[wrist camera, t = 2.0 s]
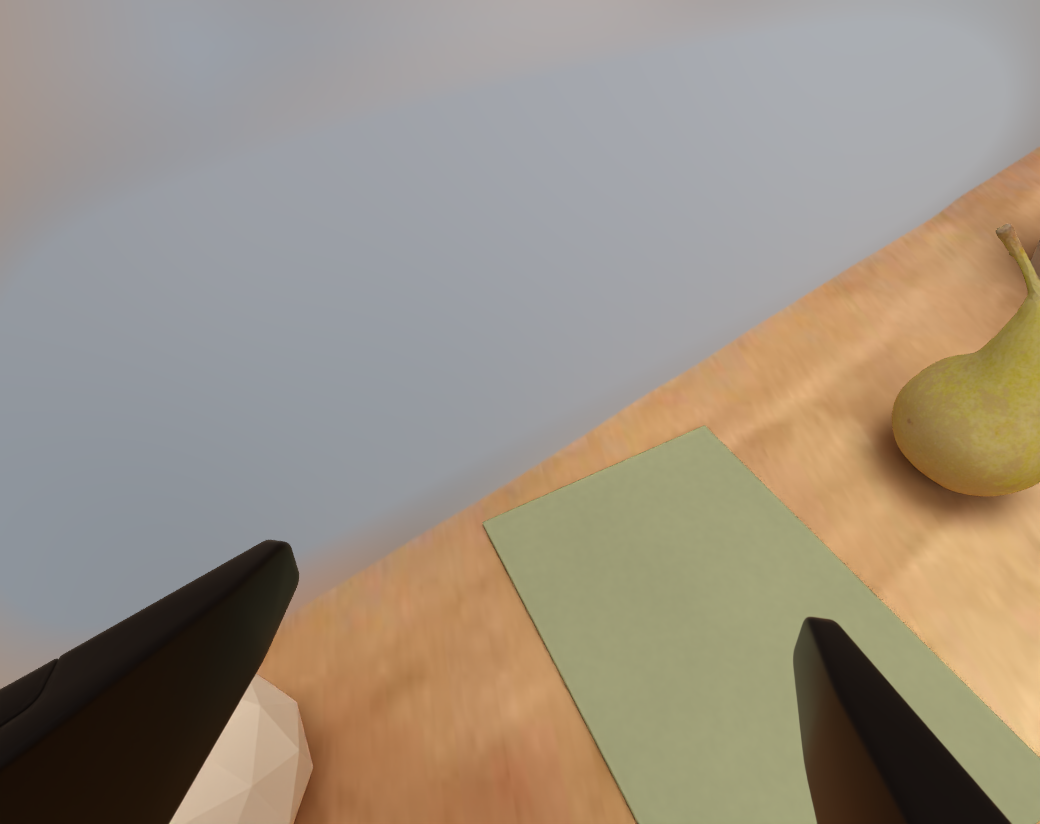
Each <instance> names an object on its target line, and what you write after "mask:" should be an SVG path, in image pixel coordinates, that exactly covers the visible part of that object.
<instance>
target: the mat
mask: <svg viewBox="0 0 1040 824" xmlns="http://www.w3.org/2000/svg"><path fill="white" fill-rule="evenodd" d="M483 526H484V528H485V530H486V532H487V534H488V536H489V538H490V540H491V542H492V544H493V546H494V548H495V549H496V551H497V553H498V555H499V557H500V559H501V561H502V563H503V565H504V567H505V569H506V571H507V573H508V575H509V576H510V578H511V580H512V582H513V584H514V586H515V588H516V590H517V592H518V594H519V596H520V598H521V600H522V602H523V604H524V605H525V607H526V609H527V611H528V613H529V615H530V617H531V619H532V621H533V623H534V625H535V627H536V629H537V631H538V632H539V634H540V636H541V638H542V640H543V642H544V644H545V646H546V648H547V650H548V652H549V654H550V656H551V658H552V659H553V661H554V663H555V665H556V667H557V669H558V671H559V673H560V675H561V677H562V679H563V681H564V683H565V685H566V687H567V688H568V690H569V692H570V694H571V696H572V698H573V700H574V702H575V704H576V706H577V708H578V710H579V712H580V714H581V715H582V717H583V719H584V721H585V723H586V725H587V727H588V729H589V731H590V733H591V735H592V737H593V739H594V741H595V742H596V744H597V746H598V748H599V750H600V752H601V754H602V756H603V758H604V760H605V762H606V764H607V766H608V768H609V770H610V771H611V773H612V775H613V777H614V779H615V781H616V783H617V785H618V787H619V789H620V791H621V793H622V795H623V797H624V798H625V800H626V802H627V804H628V806H629V808H630V810H631V812H632V814H633V816H634V818H635V820H636V822H637V824H817V821H816V817H815V812H814V808H813V803H812V799H811V794H810V790H809V785H808V781H807V775H806V770H805V765H804V758H803V750H802V742H801V733H800V723H799V714H798V705H797V696H796V687H795V678H794V668H793V653H794V648H795V645H796V642H797V639H798V636H799V633H800V630H801V627H802V624H803V621H804V620H805V618H807V617H810V616H811V617H818V618H825V619H831V620H834V621H835V622H837V623H838V624H839V625H840V626H841V627H842V629H843V630H844V631H845V632H846V633H847V634H848V635H849V637H850V638H851V639H852V640H853V641H854V642H855V643H856V645H857V646H858V647H859V648H860V649H861V650H862V652H863V653H864V654H865V655H866V656H867V657H868V658H869V660H870V661H871V662H872V663H873V664H874V665H875V667H876V668H877V669H878V670H879V671H880V672H881V673H882V675H883V676H884V677H885V678H886V679H887V680H888V681H889V683H890V684H891V685H892V686H893V687H894V688H895V690H896V691H897V692H898V693H899V694H900V695H901V696H902V698H903V699H904V700H905V701H906V702H907V703H908V705H909V706H910V707H911V708H912V709H913V710H914V711H915V713H916V714H917V715H918V716H919V717H920V718H921V719H922V721H923V722H924V723H925V724H926V725H927V726H928V728H929V729H930V730H931V731H932V732H933V733H934V734H935V736H936V737H937V738H938V739H939V740H940V741H941V743H942V744H943V745H944V746H945V747H946V748H947V749H948V751H949V752H950V753H951V754H952V755H953V756H954V757H955V759H956V760H957V761H958V762H959V763H960V764H961V766H962V767H963V768H964V769H965V770H966V771H967V772H968V774H969V775H970V776H971V777H972V778H973V779H974V781H975V782H976V783H977V784H978V785H979V786H980V787H981V789H982V790H983V791H984V792H985V793H986V794H987V795H988V797H989V798H990V799H991V800H992V801H993V802H994V804H995V805H996V806H997V807H998V808H999V809H1000V810H1001V812H1002V813H1003V814H1004V815H1005V816H1006V817H1007V819H1008V820H1009V821H1010V822H1011V823H1012V824H1036V823H1038V822H1039V821H1040V758H1039V757H1038V756H1037V755H1036V754H1035V753H1034V752H1033V751H1032V750H1031V749H1030V748H1029V747H1028V746H1027V745H1026V744H1025V743H1024V742H1023V741H1022V740H1021V739H1020V738H1019V737H1018V736H1017V735H1016V734H1015V733H1014V732H1013V731H1012V730H1011V729H1010V728H1009V727H1008V726H1007V725H1006V724H1005V723H1004V722H1003V721H1002V720H1001V719H1000V718H999V717H998V716H997V715H996V714H995V713H994V712H993V711H992V710H991V709H990V708H989V707H988V706H987V705H986V704H985V703H984V702H983V701H982V700H981V699H980V698H979V697H978V696H977V695H976V694H975V693H974V692H973V691H972V690H971V689H970V688H969V687H968V686H967V685H966V684H965V683H964V682H963V681H962V680H961V679H960V678H959V677H958V676H957V675H956V674H955V673H953V672H952V671H951V670H950V669H949V668H948V667H947V666H946V665H945V664H944V663H943V662H942V661H941V660H940V659H939V658H938V657H937V656H936V655H935V654H934V653H933V652H932V651H931V650H930V649H929V648H928V647H927V646H926V645H925V644H924V643H923V642H922V641H921V640H920V639H919V638H918V637H917V636H916V635H915V634H914V633H913V632H912V631H911V630H910V629H909V628H908V627H907V626H906V625H905V624H904V623H903V622H902V621H901V620H900V619H899V618H898V617H897V616H896V615H895V614H894V613H893V612H892V611H891V610H890V609H889V608H888V607H887V606H886V605H885V604H884V603H883V602H882V601H881V600H880V599H879V598H878V597H877V596H876V595H875V594H874V593H873V592H872V591H871V590H870V589H869V588H868V587H867V586H866V585H865V584H864V583H863V582H862V581H861V580H860V579H859V578H858V577H857V576H856V575H855V574H854V573H853V572H852V571H851V570H850V569H849V568H848V567H847V566H846V565H845V564H844V563H843V562H842V561H841V560H840V559H839V558H838V557H837V556H836V555H835V554H834V553H833V552H832V551H831V550H830V549H829V548H828V547H827V546H826V545H825V544H824V543H823V542H822V541H821V540H820V539H819V538H818V537H817V536H816V535H815V534H814V533H813V532H812V531H811V530H810V529H809V528H808V527H807V526H806V525H805V524H804V523H803V522H802V521H801V520H799V519H798V518H797V517H796V516H795V515H794V514H793V513H792V512H791V511H790V510H789V509H788V508H787V507H786V506H785V505H784V504H783V503H782V502H781V501H780V500H779V499H778V498H777V497H776V496H775V495H774V494H773V493H772V492H771V491H770V490H769V489H768V488H767V487H766V486H765V485H764V484H763V483H762V482H761V481H760V480H759V479H758V478H757V477H756V476H755V475H754V474H753V473H752V472H751V471H750V470H749V469H748V468H747V467H746V466H745V465H744V464H743V463H742V462H741V461H740V460H739V459H738V458H737V457H736V456H735V455H734V454H733V453H732V452H731V451H730V450H729V449H728V448H727V447H726V446H725V445H724V444H723V443H722V442H721V441H720V440H719V439H718V438H717V437H716V436H715V435H714V434H713V433H712V432H711V431H710V430H709V429H708V428H707V427H706V426H705V425H704V426H702V427H700V428H697V429H695V430H693V431H691V432H688V433H686V434H684V435H681V436H679V437H677V438H675V439H672V440H670V441H668V442H665V443H663V444H661V445H659V446H656V447H654V448H652V449H649V450H647V451H645V452H642V453H640V454H638V455H636V456H633V457H631V458H629V459H626V460H624V461H622V462H620V463H617V464H615V465H613V466H610V467H608V468H606V469H604V470H601V471H599V472H597V473H594V474H592V475H590V476H587V477H585V478H583V479H581V480H578V481H576V482H574V483H571V484H569V485H567V486H565V487H562V488H560V489H558V490H555V491H553V492H551V493H549V494H546V495H544V496H542V497H539V498H537V499H535V500H533V501H530V502H528V503H526V504H523V505H521V506H519V507H516V508H514V509H512V510H510V511H507V512H505V513H503V514H500V515H498V516H496V517H494V518H491V519H489V520H487V521H484V522H483Z"/></svg>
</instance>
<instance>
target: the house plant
mask: <svg viewBox="0 0 1040 824" xmlns="http://www.w3.org/2000/svg"><path fill="white" fill-rule="evenodd" d="M1030 262H1031V264H1032V266H1033V268H1034V270H1035V272H1036V274H1037V276H1038V278H1039V280H1040V240H1039V242H1038V245H1037V247H1036V249H1035V252H1034V254H1033V257H1032V259H1031V261H1030Z"/></svg>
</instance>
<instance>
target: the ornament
mask: <svg viewBox="0 0 1040 824" xmlns="http://www.w3.org/2000/svg"><path fill="white" fill-rule="evenodd" d="M312 770H313V764H312V760H311V756H310V752H309V748H308V744H307V740H306V736H305V732H304V728H303V724H302V720H301V716H300V712H299V708H298V704H297V702H296V701H295V700H293V699H292V698H291V697H289V696H288V695H286V694H285V693H284V692H282V691H281V690H279V689H278V688H277V687H275V686H274V685H273V684H271V683H270V682H268V681H267V680H265V679H264V678H262V677H261V676H259V675H257V674H255V676H254V678H253V680H252V681H251V683H250V685H249V687H248V688H247V690H246V692H245V694H244V695H243V697H242V699H241V700H240V702H239V704H238V706H237V707H236V709H235V711H234V713H233V714H232V716H231V718H230V720H229V721H228V723H227V725H226V726H225V728H224V730H223V732H222V733H221V735H220V737H219V739H218V740H217V742H216V744H215V746H214V747H213V749H212V751H211V752H210V754H209V756H208V758H207V759H206V761H205V763H204V765H203V766H202V768H201V770H200V771H199V773H198V775H197V777H196V778H195V780H194V782H193V784H192V785H191V787H190V789H189V791H188V792H187V794H186V796H185V797H184V799H183V801H182V803H181V804H180V806H179V808H178V810H177V811H176V813H175V815H174V817H173V818H172V820H171V822H170V823H169V824H293V823H294V821H295V818H296V815H297V812H298V809H299V806H300V804H301V801H302V798H303V795H304V792H305V790H306V787H307V784H308V781H309V778H310V775H311V773H312Z"/></svg>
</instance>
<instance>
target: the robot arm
mask: <svg viewBox="0 0 1040 824" xmlns="http://www.w3.org/2000/svg"><path fill="white" fill-rule="evenodd" d="M298 581H299V571H298V568H297V565H296V561H295V558H294V555H293V552H292V548H291V546H290V545H289V544H288V543H287V542H283V541H276V540H266V541H263V542H261V543H260V544H258V545H256V546H254V547H252V548H251V549H249V550H248V551H246V552H244V553H242V554H240V555H238V556H237V557H235V558H233V559H231V560H229V561H228V562H226V563H224V564H222V565H221V566H219V567H217V568H216V569H214V570H212V571H210V572H208V573H207V574H205V575H203V576H201V577H199V578H198V579H196V580H194V581H192V582H191V583H189V584H187V585H185V586H183V587H182V588H180V589H178V590H176V591H175V592H173V593H171V594H169V595H168V596H166V597H164V598H163V599H160V600H159V601H157V602H155V603H153V604H152V605H150V606H148V607H146V608H145V609H143V610H141V611H139V612H138V613H136V614H134V615H132V616H130V617H129V618H127V619H125V620H123V621H122V622H120V623H118V624H116V625H115V626H113V627H111V628H109V629H107V630H106V631H104V632H102V633H100V634H98V635H97V636H95V637H93V638H91V639H90V640H88V641H86V642H84V643H82V644H81V645H79V646H77V647H75V648H74V649H72V650H71V651H68V652H67V653H65V654H63V655H62V656H60V658H59V659H54V660H52V661H50V662H49V663H47V664H45V665H43V666H42V667H40V668H38V669H36V670H35V671H33V672H31V673H29V674H28V675H26V676H24V677H22V678H20V679H18V680H16V681H15V682H13V683H11V684H9V685H7V686H6V687H4V688H2V689H0V824H169V823H170V822H171V820H172V818H173V817H174V815H175V813H176V811H177V810H178V808H179V806H180V804H181V803H182V801H183V799H184V797H185V796H186V794H187V792H188V791H189V789H190V787H191V785H192V784H193V782H194V780H195V778H196V777H197V775H198V773H199V771H200V770H201V768H202V766H203V765H204V763H205V761H206V759H207V758H208V756H209V754H210V752H211V751H212V749H213V747H214V746H215V744H216V742H217V740H218V739H219V737H220V735H221V733H222V732H223V730H224V728H225V726H226V725H227V723H228V721H229V720H230V718H231V716H232V714H233V713H234V711H235V709H236V707H237V706H238V704H239V702H240V700H241V699H242V697H243V695H244V694H245V692H246V690H247V688H248V687H249V685H250V683H251V681H252V680H253V678H254V676H255V674H256V673H257V671H258V669H259V667H260V665H261V664H262V662H263V660H264V658H265V656H266V654H267V652H268V650H269V647H270V645H271V643H272V641H273V639H274V636H275V634H276V632H277V630H278V628H279V625H280V623H281V621H282V619H283V617H284V614H285V612H286V609H287V608H288V605H289V603H290V601H291V599H292V597H293V595H294V592H295V590H296V588H297V585H298ZM793 668H794V678H795V687H796V696H797V705H798V714H799V723H800V733H801V742H802V750H803V758H804V765H805V770H806V775H807V781H808V785H809V790H810V794H811V799H812V803H813V808H814V812H815V817H816V821H817V824H1012V823H1011V822H1010V821H1009V820H1008V819H1007V817H1006V816H1005V815H1004V814H1003V813H1002V812H1001V810H1000V809H999V808H998V807H997V806H996V805H995V804H994V802H993V801H992V800H991V799H990V798H989V797H988V795H987V794H986V793H985V792H984V791H983V790H982V789H981V787H980V786H979V785H978V784H977V783H976V782H975V781H974V779H973V778H972V777H971V776H970V775H969V774H968V772H967V771H966V770H965V769H964V768H963V767H962V766H961V764H960V763H959V762H958V761H957V760H956V759H955V757H954V756H953V755H952V754H951V753H950V752H949V751H948V749H947V748H946V747H945V746H944V745H943V744H942V743H941V741H940V740H939V739H938V738H937V737H936V736H935V734H934V733H933V732H932V731H931V730H930V729H929V728H928V726H927V725H926V724H925V723H924V722H923V721H922V719H921V718H920V717H919V716H918V715H917V714H916V713H915V711H914V710H913V709H912V708H911V707H910V706H909V705H908V703H907V702H906V701H905V700H904V699H903V698H902V696H901V695H900V694H899V693H898V692H897V691H896V690H895V688H894V687H893V686H892V685H891V684H890V683H889V681H888V680H887V679H886V678H885V677H884V676H883V675H882V673H881V672H880V671H879V670H878V669H877V668H876V667H875V665H874V664H873V663H872V662H871V661H870V660H869V658H868V657H867V656H866V655H865V654H864V653H863V652H862V650H861V649H860V648H859V647H858V646H857V645H856V643H855V642H854V641H853V640H852V639H851V638H850V637H849V635H848V634H847V633H846V632H845V631H844V630H843V629H842V627H841V626H840V625H839V624H838V623H837V622H835V621H834V620H831V619H825V618H818V617H811V616H810V617H807V618H805V620H804V621H803V624H802V627H801V630H800V633H799V636H798V639H797V642H796V645H795V648H794V653H793Z"/></svg>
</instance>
